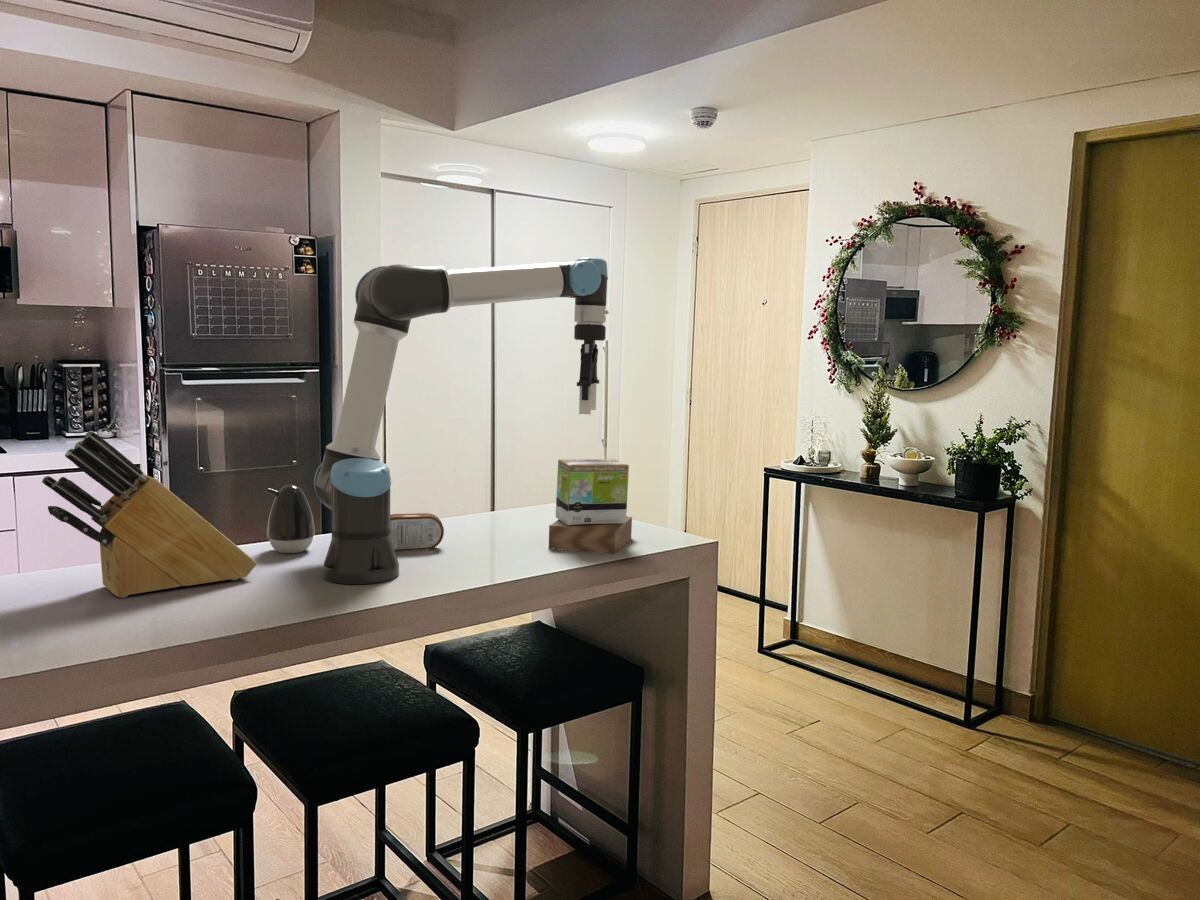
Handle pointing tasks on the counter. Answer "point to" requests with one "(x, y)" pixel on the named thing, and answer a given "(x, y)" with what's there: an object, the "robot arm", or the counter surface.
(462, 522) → the counter surface
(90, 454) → the knife block
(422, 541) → the tin
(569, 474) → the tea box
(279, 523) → the pump dispenser
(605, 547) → the walnut block
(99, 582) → the counter surface
